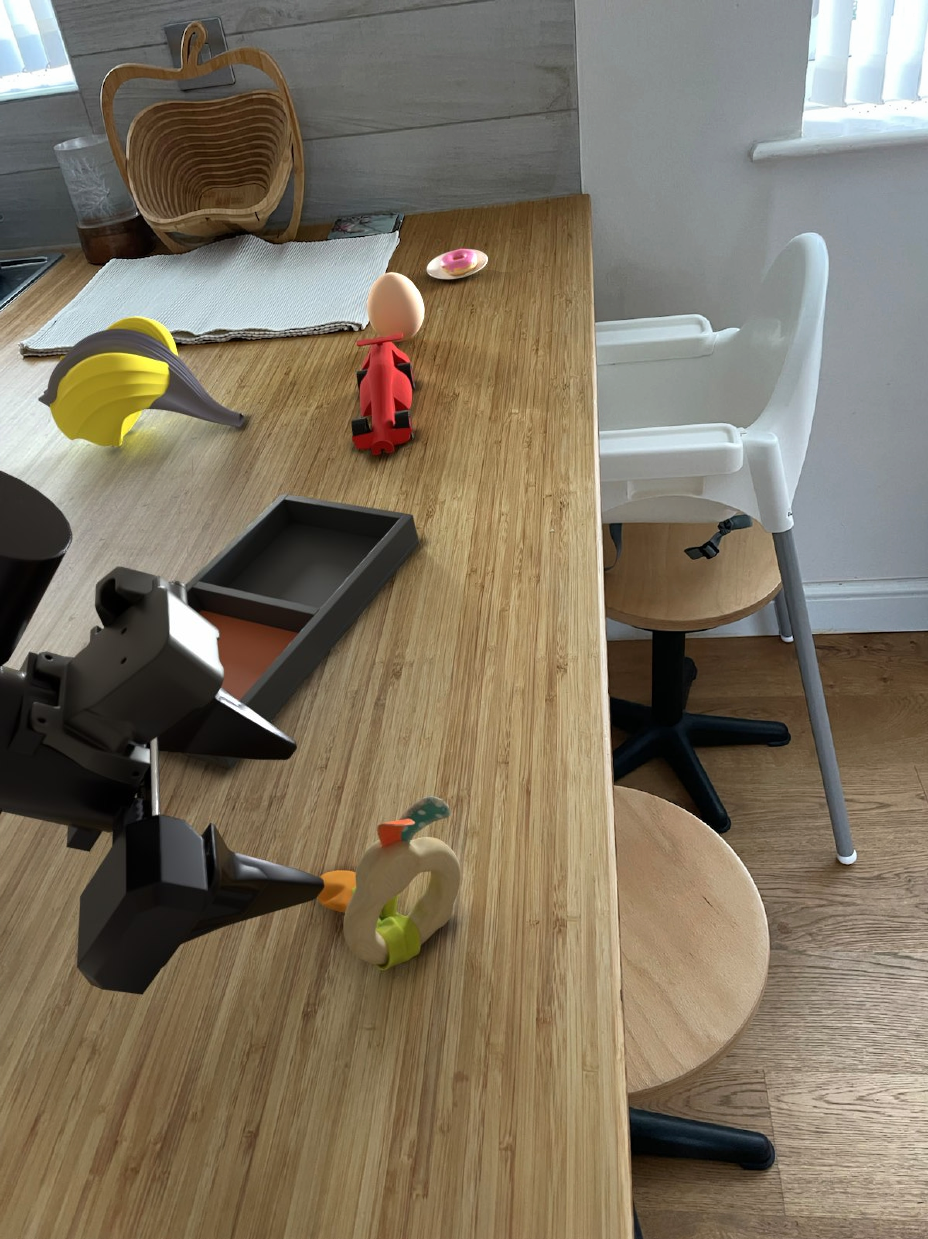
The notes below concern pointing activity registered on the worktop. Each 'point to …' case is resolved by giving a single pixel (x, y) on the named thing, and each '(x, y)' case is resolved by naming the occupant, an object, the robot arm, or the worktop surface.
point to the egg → (395, 306)
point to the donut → (457, 264)
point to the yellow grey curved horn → (125, 383)
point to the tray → (294, 592)
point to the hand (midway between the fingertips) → (305, 815)
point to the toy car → (384, 396)
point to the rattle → (395, 888)
